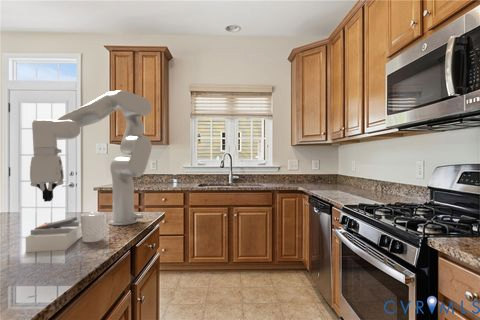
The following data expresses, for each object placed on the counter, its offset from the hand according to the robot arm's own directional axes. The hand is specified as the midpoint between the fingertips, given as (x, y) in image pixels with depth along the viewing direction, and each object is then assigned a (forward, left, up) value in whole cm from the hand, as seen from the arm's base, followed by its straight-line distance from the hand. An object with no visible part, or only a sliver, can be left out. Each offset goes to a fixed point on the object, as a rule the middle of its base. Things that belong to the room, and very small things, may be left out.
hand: (48, 200), depth 112 cm
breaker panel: (-5, +6, -15) cm, 17 cm away
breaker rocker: (-5, +6, -8) cm, 11 cm away
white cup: (-17, +4, -15) cm, 23 cm away
